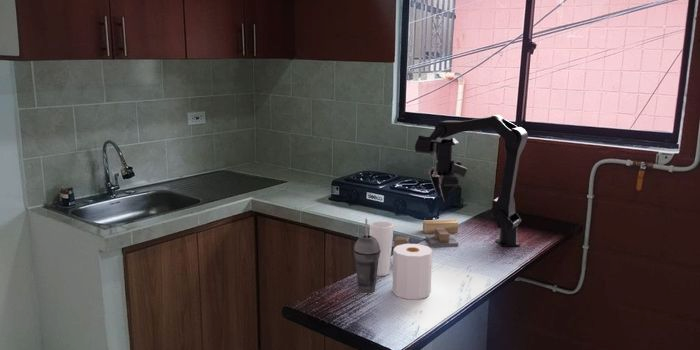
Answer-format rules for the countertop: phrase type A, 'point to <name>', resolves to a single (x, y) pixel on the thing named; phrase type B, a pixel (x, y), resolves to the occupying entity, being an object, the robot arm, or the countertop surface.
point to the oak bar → (440, 225)
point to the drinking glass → (383, 244)
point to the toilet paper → (412, 271)
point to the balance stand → (441, 238)
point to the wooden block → (401, 240)
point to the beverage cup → (366, 262)
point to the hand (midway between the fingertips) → (442, 199)
